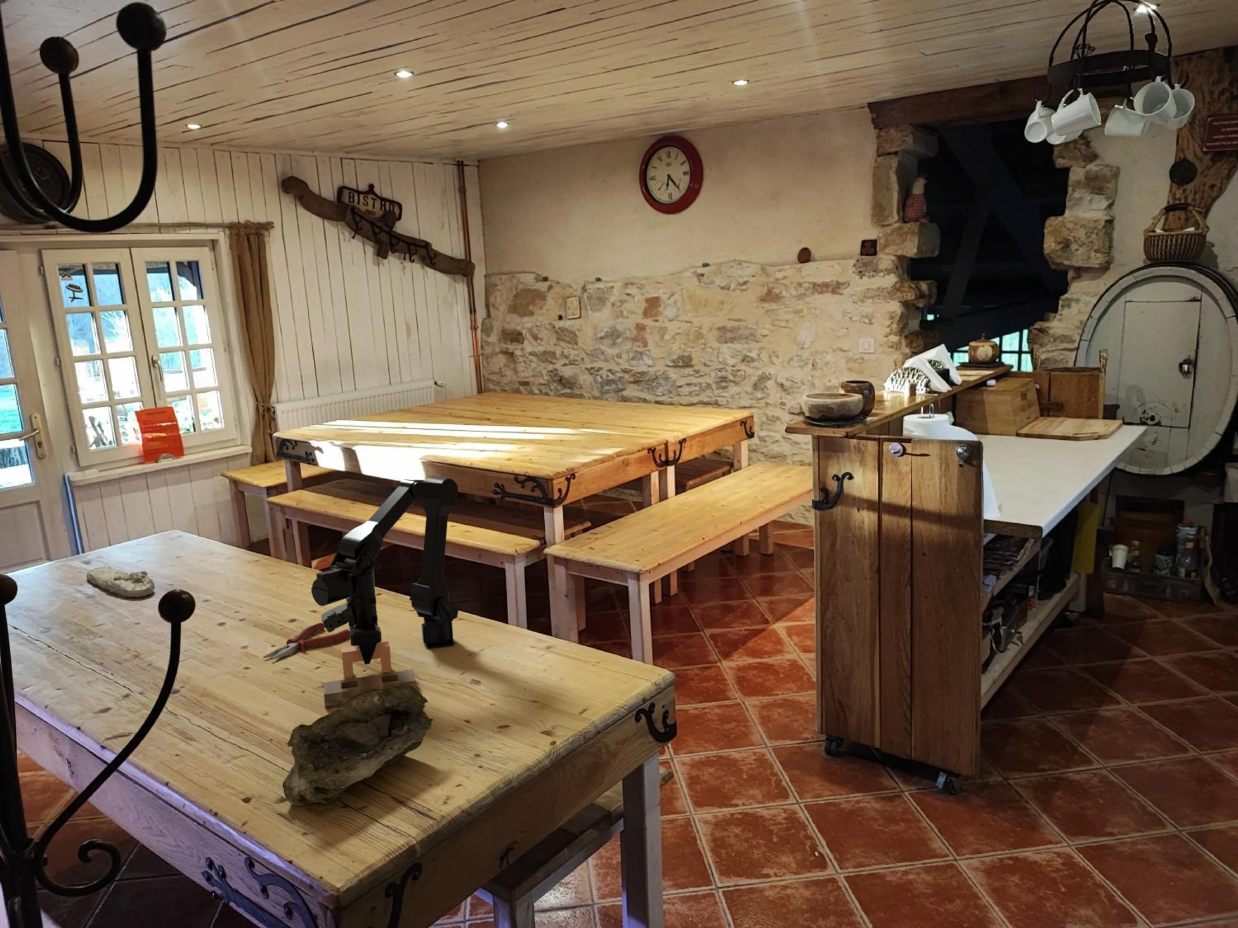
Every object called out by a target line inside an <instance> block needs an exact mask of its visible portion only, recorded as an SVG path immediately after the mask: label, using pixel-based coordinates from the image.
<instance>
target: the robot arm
mask: <svg viewBox="0 0 1238 928" xmlns="http://www.w3.org/2000/svg"><path fill="white" fill-rule="evenodd" d="M397 485H398V486H397V487H396V489H395V490H394V491H392V493H391V494H390V495H389V496H388V497H387V498H386V500H385V501H384V502H383V503H382V504H381V506H380V507H378V509H377V510H376V511H375V512H374V513H373V515H372V516H371V517H369V519H368V520H367V521H365V522H364V523H362V524H361V525H359V526H357V527H354V528H353V529H351V530H350V531H349V532H348V533H346V535H344V536H343V537H342V538H341V539H340V541H339V543H338V546H339V547H338V549H337V551H336V553H335V554H334V557H333V559H332V561H331V563H330V565H329V569H330V570H327V571H321V572H316V579H315V580H313V582H312V585H311V588H310V591H311V595H312V598H313V601H315V603H316V604H317V605H319V606H320V607H325V606H328V605H330V604H334V603H337V602H341V601H343V600H346V602H345V603H342V604H339V605H337V606H335V607H333V608H331V609H329V610H327V611H324V612H323V613H322V614H321V615H320V616H321V619H320V620H321V621H322V622H321V623H323V624H324V629H325V630H326V631H327V633H332V632H334V631H335V630H336V629H339V628H340V627H343V626H345V625H346V624H348V627H349V628H348V629H349V630H350V637H349V638H350V641H349V642H350V646H359V648H360V651H361V654H362V657H363V661H362V662H363V663H364V665H370V664H371V662H372V660H371V659H372V656H373V653H374V651H375V648H376V645H377V643H380V642H383V640H382V639H383V638H382V631H381V627H380V626H379V624H378V622H379V619H378V618H379V617H378V612H377V611H378V610H377V597H376V588H375V584H376V583H375V575H374V574H375V573H374V571H377V570H380V569H382V567H383V565H382V564H381V563H379V562H378V561H377V560H375V558H377V555H379V552H380V550H381V549H382V548H383V545H384V544H383V543H384V539H385V537H386V535H387V533H389V531H390V530H391V529H392V528H394V526H395V524H396V523H397V522H398V521H399V520H400V519H401V518H402V517H403V515H404V514H405V513H406V512H407V511H408V510H409V509H410V508H411V506H412V505H413V504H414V503H415V502H416V501H417V499H420V501H421V502H420V503H421V505H422V507H423V510H424V513H425V514H426V515H425V516H426V517H425V528H424V540H423V552H422V553H423V554H422V565H421V566H422V567H421V574H420V575H421V576H420V577H419V579H418V581H416V582H413V583H411V584H410V597H409V599H408V600H409V601H410V602H411V605H410V606H411V608H413V609H414V611H415V612H416V614H417V617H418V618H423V622H422V624H421V634H422V636H421V638H422V642H423V644H425V647H426V649H433V648H440V647H441V648H442V647H447V646H454V645H455V644H456V643H455V640H454V631H453V628H454V627H453V621H454V620H456V619H457V618H458V616H459V608H458V607H457V606H455V605H454V604H453V603H452V602H451V601H450V599H449V598H450V597H449V596H450V595H449V588H448V586H447V583H446V581H445V578H444V569H445V559H446V558H445V557H446V545H447V534H448V533H447V531H448V522H449V521H448V520H449V516H450V514H451V513H452V511H453V510H454V508H455V506H456V502H457V498H458V494H459V485H458V484H457V483H456V481H455V480H454V479H453V478H448V477H443V476H434V475H430V476H427V477H426V478H425V479H407V478H404V479H403V480H401V481H400V482H399V483H398V484H397ZM345 561H348V562H345ZM349 562H351V563H349ZM352 563H354V564H352Z"/></svg>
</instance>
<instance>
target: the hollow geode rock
mask: <svg viewBox="0 0 1238 928" xmlns="http://www.w3.org/2000/svg"><path fill="white" fill-rule="evenodd" d="M428 702H429V701H428V699H427V698H426V697H425V696H423V695H422V694H421V693H420V692H419V691H418V689H417V690H416V689H415V688H413V687H412V686H409V685H408V686H405V685H399V686H393V687H390V688H388V689H370V690H367V691H365V692H363V693H360V694H357V695H355V696H354V697H353V698H351V699H350V700H348V701H347V702H346V703H344V704H343V705H342V706H340V708H338V709H337V710H334V711H332V712H330V713H329V714H326V715H322V716H321V717H319V718H318V719H316V720H314V721H313V722H312V724H302V723H301V724H299V725H296V726H295V727H294V728H293V729H292V731H291V734H290V737H289V740H288V741H287V743H286V744H287V747H288V748H289V747H291V748H292V749H291V751H290V752H291V754H292V756H293V759H294V764H293V766H292V767H291V768H290V770H289V771H288V774H287V775H286V777H285V778H284V780H283V781H282V790H283V794H284V798H285V800H286V801H288V802H289V804H291V805H293V806H295V807H297V806H309V805H311V804H316V803H321V804H324V805H326V806H328V807H329V806H330V805H331V804H332V803H333V802H335V800H336V799H337V798H338V796H340V795H341V793H342V792H345V791H347V790H348V789H349V787H350V786H352V785H354V784H356V783H358V782H360V781H363V780H366V779H369V778H370V777H373V775H374V773H376V772H377V771H378V770H380V769H382V768H384V767H388V766H390V765H392V764H394V763H395V762H397V761H398V760H399V759H402V758H403V757H405V755H407V754H408V753H410V752H412V751H415V750H417V749H418V748H419V747H420V746H421V745H422V742H423V740H424V738H425V737H426V736H427V735H428V734H427V733H428V732H429V731H430V730H431V728H432V727H433V726H432V725H433V723H432V722H434V721H433V720H434V719H433V718H430V717H429V716H428V715H427V713H426V712H425V711H424V709H425V708H426V705H425V704H426V703H428Z"/></svg>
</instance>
